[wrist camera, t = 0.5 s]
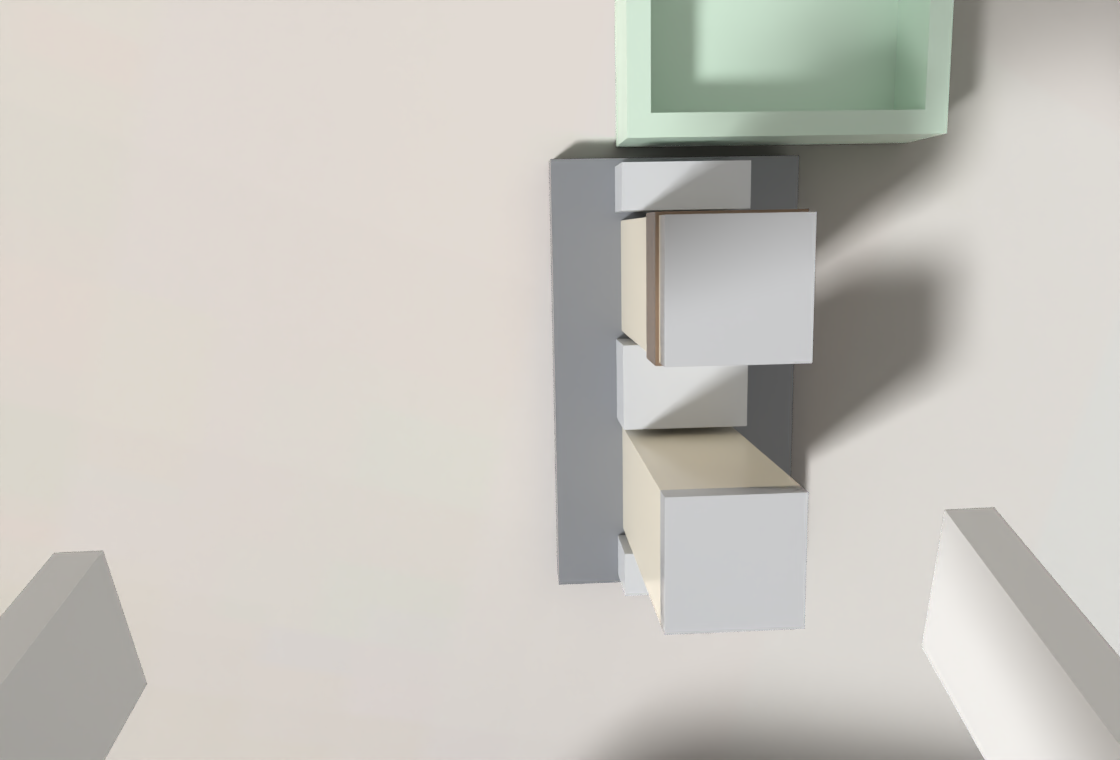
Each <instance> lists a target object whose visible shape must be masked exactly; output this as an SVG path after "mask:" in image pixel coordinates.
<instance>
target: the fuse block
mask: <svg viewBox="0 0 1120 760" xmlns="http://www.w3.org/2000/svg"><path fill="white" fill-rule="evenodd" d="M798 174H799V156H732V157H665V158H598V159H550V161H549V184H550V232H551V281H552V329H553V377H554V426H555V474H556V522H557V570H558V579H559V585H560V584H585V583H610V582H621V585H622V588H623V591H624V594H625V596H634V595H649V593H648V591H647V588H646V586H645V583H644V580H643V578H642V575H641V573H640V570H639V567H638V565H637V562H636V560H635V557H634V555H633V552H632V549H631V547H630V544H629V542H628V539H627V536H626V534H625V531H624V529H623V449H622V428H623V429H624V430H637V429H668V428H700V427H733V428H734V429H735V430H737V431H738V432H739V433H740V434H741V435H742V436H744V437H745V438H746V439H747V440H748V441H749V442H751V443H752V444H753V445H754V446H755V447H756V448H757V449H759V450H760V451H761V452H762V453H763V454H764V455H766V456H767V457H768V458H769V459H770V460H771V461H773V462H774V463H775V464H776V465H777V466H778V467H780V468H781V469H782V470H783V471H784V472H785V473H787V474H788V475H789V476H790V477H791V450H792V410H793V371H794V364H767V365H731V366H695V367H664V366H655V365H654V364H653V363H651V362H650V361H649V360H648V359H647V352H646V351H645V350H644V349H643V348H641V347H640V346H639V345H638V344H637V343H636V342H634V341H633V340H632V339H631V338H630V337H629V336H627V335H626V334H625V333H624V332H623V331H622V317H621V221H622V220H629V219H636V218H644V217H646V213H650V212H664V211H719V210H774V209H798Z"/></svg>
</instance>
